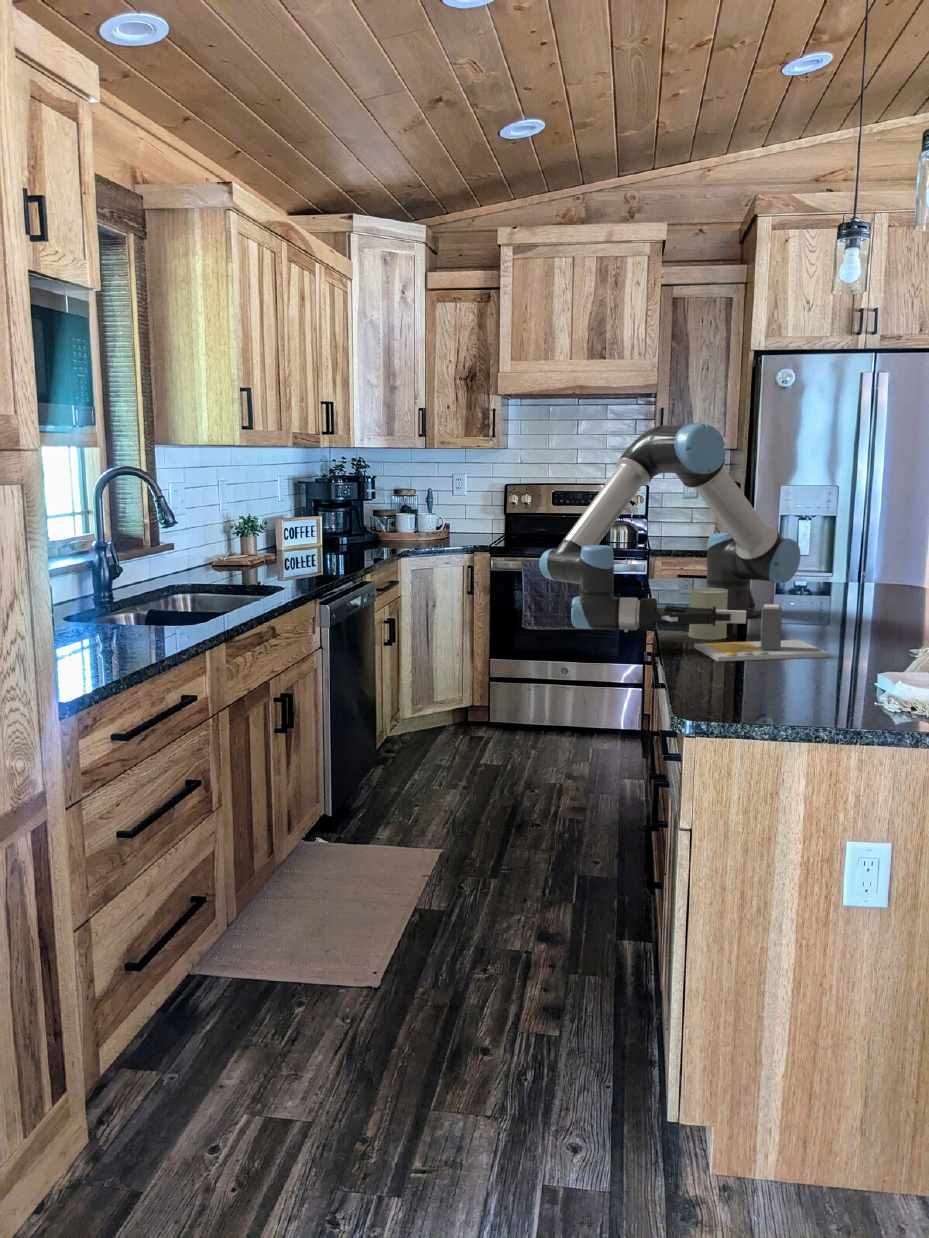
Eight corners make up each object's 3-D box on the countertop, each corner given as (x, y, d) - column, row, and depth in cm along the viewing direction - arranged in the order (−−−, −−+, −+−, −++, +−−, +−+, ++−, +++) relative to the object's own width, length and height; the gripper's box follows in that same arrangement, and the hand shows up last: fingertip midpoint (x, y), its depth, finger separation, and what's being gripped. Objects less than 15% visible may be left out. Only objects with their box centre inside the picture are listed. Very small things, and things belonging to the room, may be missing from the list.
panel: (798, 643, 221) (798, 638, 221) (828, 656, 206) (829, 650, 206) (694, 648, 219) (694, 642, 219) (717, 661, 204) (717, 655, 204)
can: (728, 640, 227) (729, 590, 225) (689, 639, 229) (689, 590, 227) (725, 633, 236) (727, 585, 234) (687, 632, 238) (688, 585, 236)
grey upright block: (778, 645, 214) (780, 604, 212) (780, 649, 209) (782, 607, 207) (760, 644, 215) (761, 603, 213) (761, 649, 210) (762, 607, 208)
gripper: (640, 625, 225) (744, 628, 219) (636, 635, 212) (746, 638, 206) (641, 594, 223) (745, 596, 217) (637, 602, 211) (747, 604, 205)
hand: (745, 617), depth 212 cm, fingers closed
